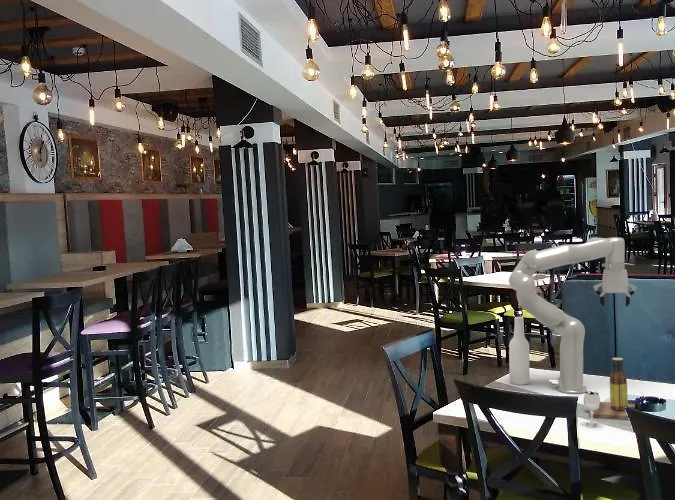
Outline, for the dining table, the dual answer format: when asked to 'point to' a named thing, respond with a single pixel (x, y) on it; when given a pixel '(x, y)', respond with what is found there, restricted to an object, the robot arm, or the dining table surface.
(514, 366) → the alcohol
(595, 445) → the dining table surface
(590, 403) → the wineglass
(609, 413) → the walnut board
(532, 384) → the dining table surface
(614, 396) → the sauce bottle
